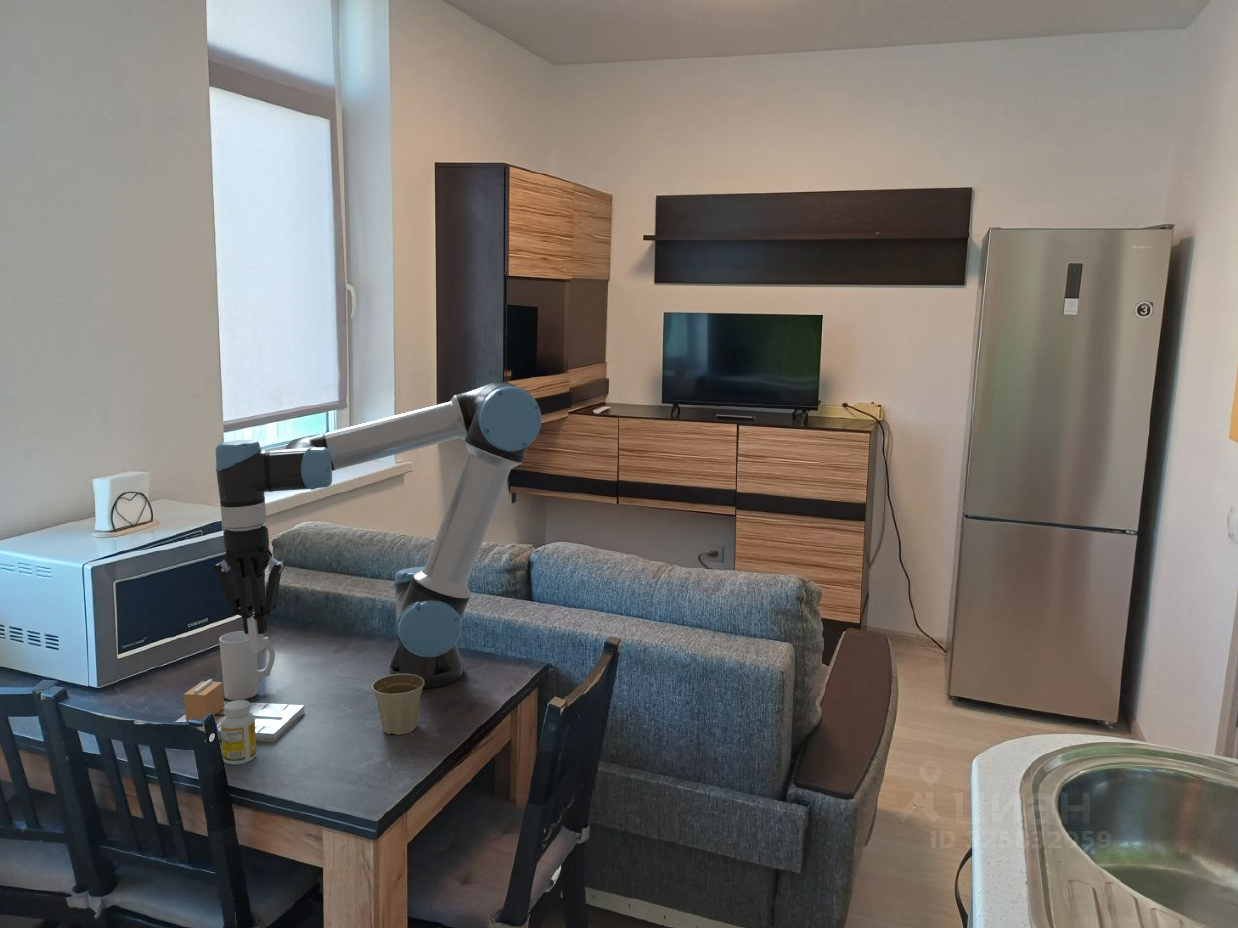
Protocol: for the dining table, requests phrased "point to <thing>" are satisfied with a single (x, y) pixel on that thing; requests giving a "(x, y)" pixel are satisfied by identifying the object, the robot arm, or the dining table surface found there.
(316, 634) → the dining table surface
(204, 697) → the cardboard box
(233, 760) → the supplement bottle
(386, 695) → the flower pot
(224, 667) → the mug
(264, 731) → the console
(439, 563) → the robot arm
